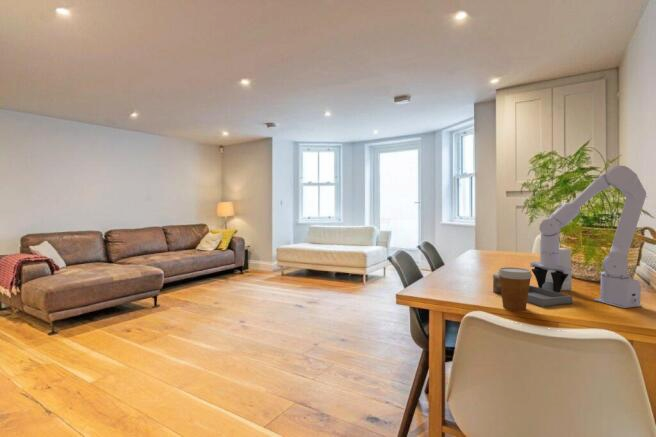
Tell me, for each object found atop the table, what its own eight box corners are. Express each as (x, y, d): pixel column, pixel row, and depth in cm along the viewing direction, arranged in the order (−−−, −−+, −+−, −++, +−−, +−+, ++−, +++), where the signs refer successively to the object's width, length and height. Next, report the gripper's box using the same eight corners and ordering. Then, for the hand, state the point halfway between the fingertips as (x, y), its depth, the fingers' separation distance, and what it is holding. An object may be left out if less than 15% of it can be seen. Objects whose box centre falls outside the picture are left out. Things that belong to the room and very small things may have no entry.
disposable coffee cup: (501, 301, 113) (501, 266, 113) (534, 307, 107) (534, 269, 107) (493, 308, 106) (494, 270, 105) (529, 314, 100) (529, 273, 99)
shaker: (510, 293, 124) (510, 275, 123) (499, 294, 122) (499, 276, 122) (500, 290, 128) (500, 273, 128) (489, 291, 127) (490, 274, 127)
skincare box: (572, 290, 127) (572, 249, 126) (554, 291, 127) (554, 249, 126) (557, 285, 135) (557, 246, 135) (540, 285, 135) (541, 246, 135)
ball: (559, 295, 121) (559, 282, 121) (549, 295, 120) (549, 283, 120) (548, 292, 125) (548, 280, 125) (539, 292, 124) (539, 281, 124)
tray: (572, 303, 110) (572, 296, 110) (542, 307, 107) (542, 299, 107) (530, 292, 125) (530, 285, 125) (503, 294, 122) (504, 287, 122)
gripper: (524, 250, 128) (523, 286, 128) (559, 255, 114) (558, 295, 114) (539, 249, 130) (538, 285, 130) (575, 254, 116) (575, 294, 116)
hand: (549, 290), depth 122 cm, fingers open, 6 cm apart
